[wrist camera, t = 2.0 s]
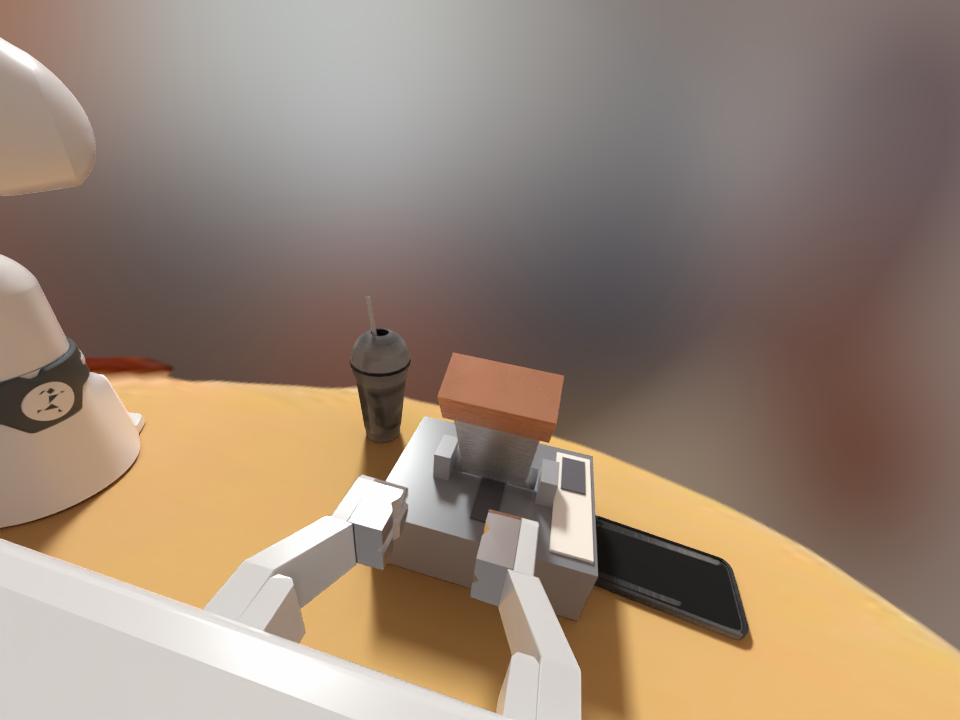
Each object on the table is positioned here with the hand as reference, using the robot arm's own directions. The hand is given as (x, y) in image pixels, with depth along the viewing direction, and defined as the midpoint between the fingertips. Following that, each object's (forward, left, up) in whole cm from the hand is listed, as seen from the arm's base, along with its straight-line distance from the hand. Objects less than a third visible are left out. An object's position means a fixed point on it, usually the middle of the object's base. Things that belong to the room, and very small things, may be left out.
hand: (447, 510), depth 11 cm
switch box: (0, +19, -26) cm, 32 cm away
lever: (0, +19, -17) cm, 26 cm away
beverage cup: (-17, +29, -26) cm, 43 cm away
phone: (+18, +19, -27) cm, 37 cm away
